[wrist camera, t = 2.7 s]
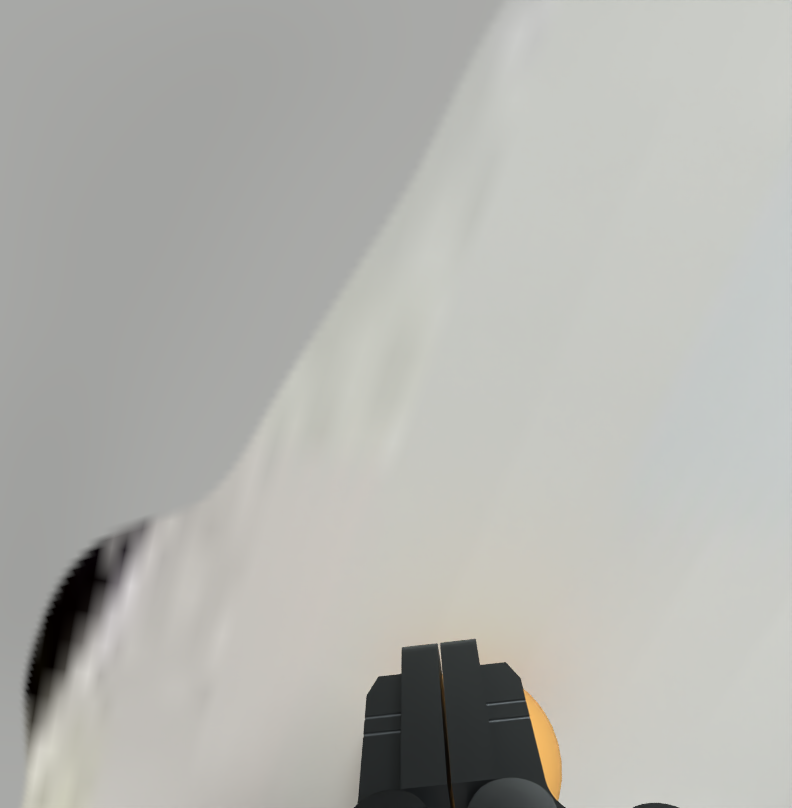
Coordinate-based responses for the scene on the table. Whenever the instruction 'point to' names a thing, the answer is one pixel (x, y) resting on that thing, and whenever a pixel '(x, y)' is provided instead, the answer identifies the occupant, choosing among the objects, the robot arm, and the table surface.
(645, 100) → the table surface
